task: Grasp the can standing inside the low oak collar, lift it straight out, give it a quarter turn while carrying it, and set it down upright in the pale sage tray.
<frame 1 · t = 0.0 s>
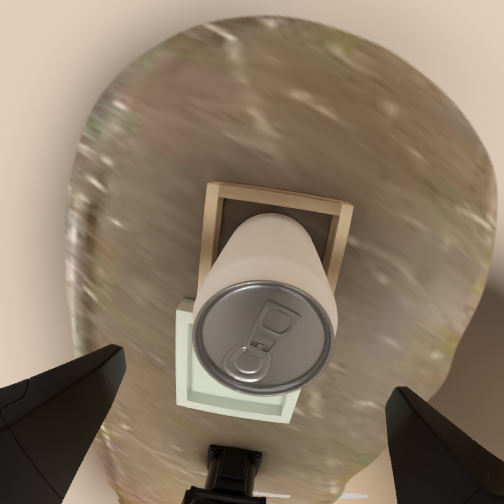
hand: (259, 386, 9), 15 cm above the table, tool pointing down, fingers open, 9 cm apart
tray: (241, 361, 26), on the table
butter knife: (292, 493, 34), on the table
collar: (271, 253, 23), on the table
can: (271, 253, 23), resting in collar
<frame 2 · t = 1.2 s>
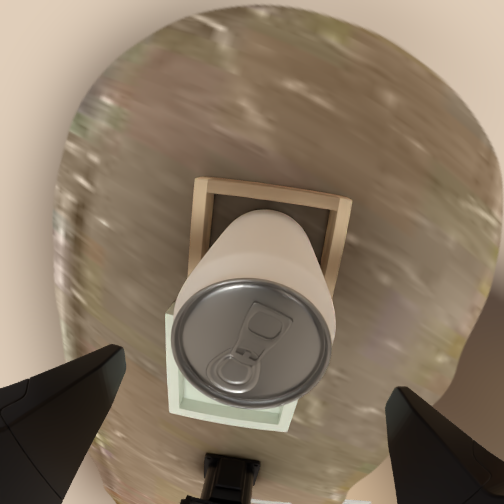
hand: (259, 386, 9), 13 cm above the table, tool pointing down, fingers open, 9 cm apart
tray: (235, 367, 24), on the table
butter knife: (293, 501, 32), on the table
collar: (265, 252, 21), on the table
can: (265, 252, 21), resting in collar
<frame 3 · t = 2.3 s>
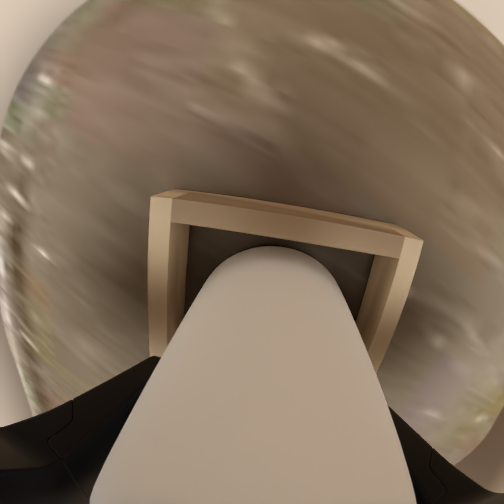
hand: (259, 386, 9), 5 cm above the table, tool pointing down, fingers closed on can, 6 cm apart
collar: (271, 311, 13), on the table
can: (271, 310, 14), resting in collar, touching gripper
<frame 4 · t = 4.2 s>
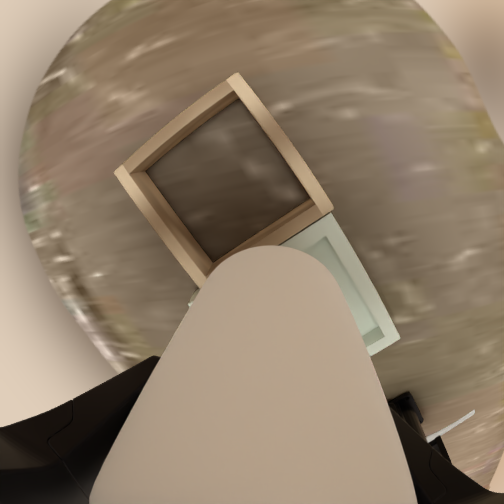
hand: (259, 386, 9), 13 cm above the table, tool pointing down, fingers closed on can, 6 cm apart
tray: (299, 310, 22), on the table
butter knife: (475, 406, 25), on the table
collar: (224, 182, 19), on the table
can: (271, 309, 14), point 7 cm above the table, touching gripper
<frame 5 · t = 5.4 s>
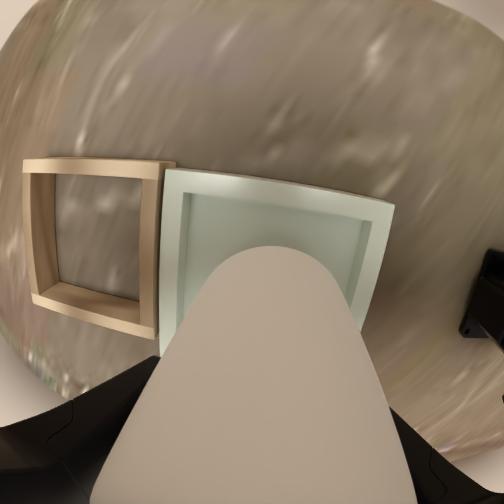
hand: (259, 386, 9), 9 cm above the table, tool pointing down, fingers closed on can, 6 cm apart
tray: (266, 278, 17), on the table
collar: (100, 235, 17), on the table
can: (271, 309, 13), point 4 cm above the table, touching gripper
when the fingers open (7 cm above the table, at t = 6.2 s): can drops 1 cm, resting on tray.
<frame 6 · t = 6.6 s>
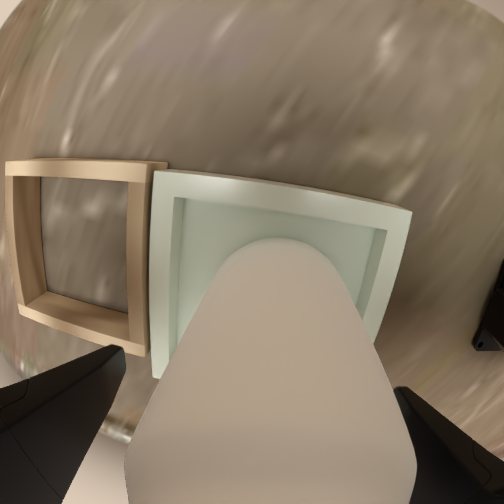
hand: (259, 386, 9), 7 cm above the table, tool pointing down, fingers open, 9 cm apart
tray: (267, 292, 15), on the table
collar: (87, 242, 15), on the table
can: (277, 297, 15), resting on tray
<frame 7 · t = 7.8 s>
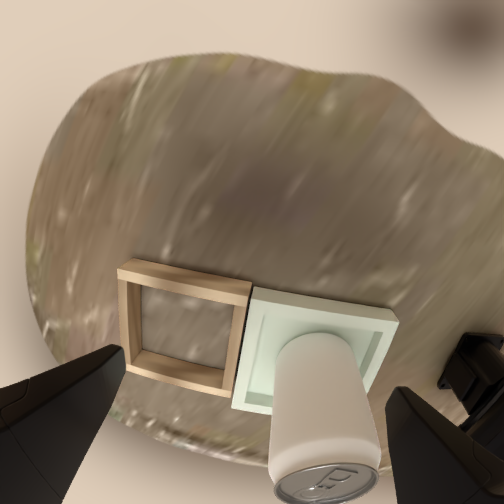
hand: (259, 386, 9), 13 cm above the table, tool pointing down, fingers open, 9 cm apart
tray: (308, 357, 23), on the table
collar: (184, 323, 24), on the table
can: (314, 361, 23), resting on tray
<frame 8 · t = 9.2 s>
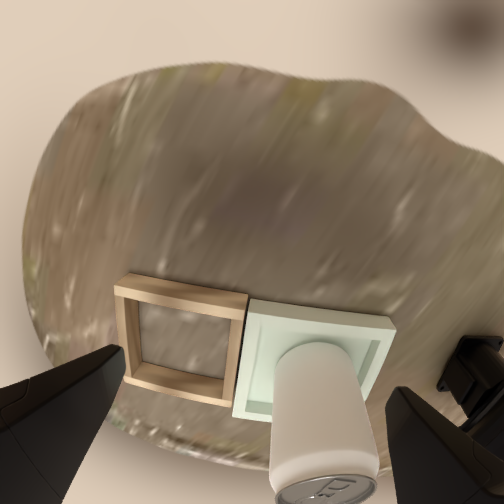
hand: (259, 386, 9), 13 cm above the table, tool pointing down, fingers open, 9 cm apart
tray: (307, 365, 23), on the table
collar: (183, 336, 24), on the table
can: (313, 369, 23), resting on tray
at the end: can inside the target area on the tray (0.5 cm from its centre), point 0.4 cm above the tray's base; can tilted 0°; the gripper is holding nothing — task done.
